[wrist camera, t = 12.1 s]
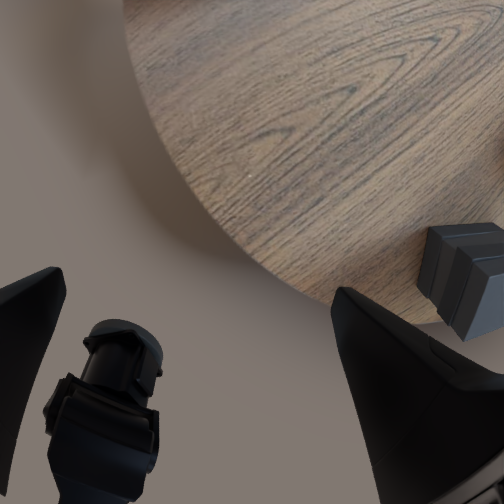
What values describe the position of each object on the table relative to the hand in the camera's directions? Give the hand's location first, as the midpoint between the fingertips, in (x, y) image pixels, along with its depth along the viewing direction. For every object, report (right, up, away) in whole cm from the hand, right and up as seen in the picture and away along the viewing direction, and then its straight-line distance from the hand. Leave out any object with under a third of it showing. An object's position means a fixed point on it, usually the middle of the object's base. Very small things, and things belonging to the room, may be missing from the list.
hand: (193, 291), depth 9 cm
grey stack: (+21, +1, +14) cm, 25 cm away
